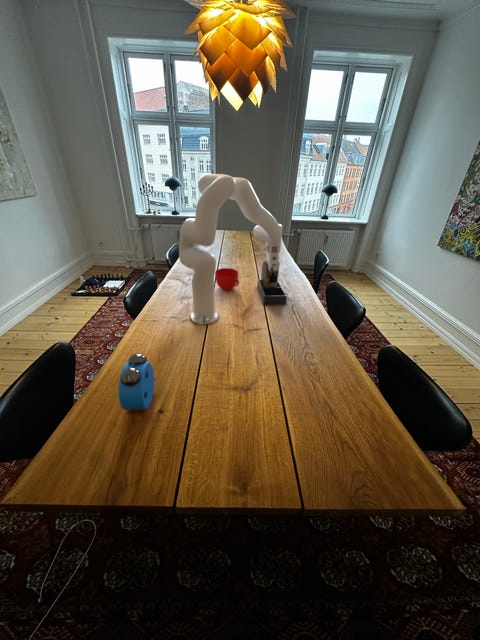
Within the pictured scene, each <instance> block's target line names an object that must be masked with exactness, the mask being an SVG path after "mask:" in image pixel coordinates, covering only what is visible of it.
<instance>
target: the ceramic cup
mask: <svg viewBox="0 0 480 640" xmlns="http://www.w3.org/2000/svg"><path fill="white" fill-rule="evenodd" d="M214 278H215V281H216V284H217V286H218V287H219V289H220V290H222V291H231V290H233V289H234V288H235V287H238V286H239V285H240V280H239V271H238V270H237V269H235V268H228V267H223V268H218V269H215V273H214Z"/></svg>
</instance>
